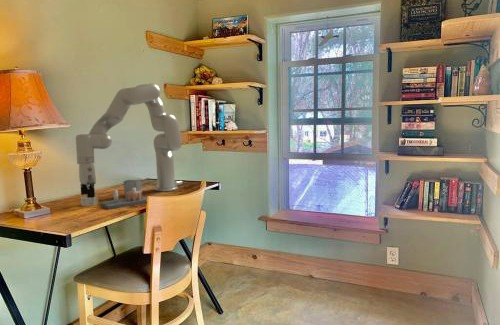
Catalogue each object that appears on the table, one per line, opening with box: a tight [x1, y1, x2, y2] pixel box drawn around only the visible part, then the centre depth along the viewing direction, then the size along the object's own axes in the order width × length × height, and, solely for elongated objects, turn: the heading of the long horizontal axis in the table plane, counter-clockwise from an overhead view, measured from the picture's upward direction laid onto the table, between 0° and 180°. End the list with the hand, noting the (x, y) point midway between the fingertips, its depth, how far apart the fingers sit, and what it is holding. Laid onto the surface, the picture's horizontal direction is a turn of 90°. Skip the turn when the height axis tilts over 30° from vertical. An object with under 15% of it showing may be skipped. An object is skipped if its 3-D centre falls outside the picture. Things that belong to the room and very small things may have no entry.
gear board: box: [99, 188, 148, 210], centre depth 180 cm, size 20×11×7 cm, turn 130°
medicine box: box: [123, 179, 143, 198], centre depth 195 cm, size 8×4×9 cm, turn 71°
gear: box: [80, 195, 99, 207], centre depth 181 cm, size 7×7×4 cm
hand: (87, 195), depth 180 cm, fingers open, 9 cm apart
